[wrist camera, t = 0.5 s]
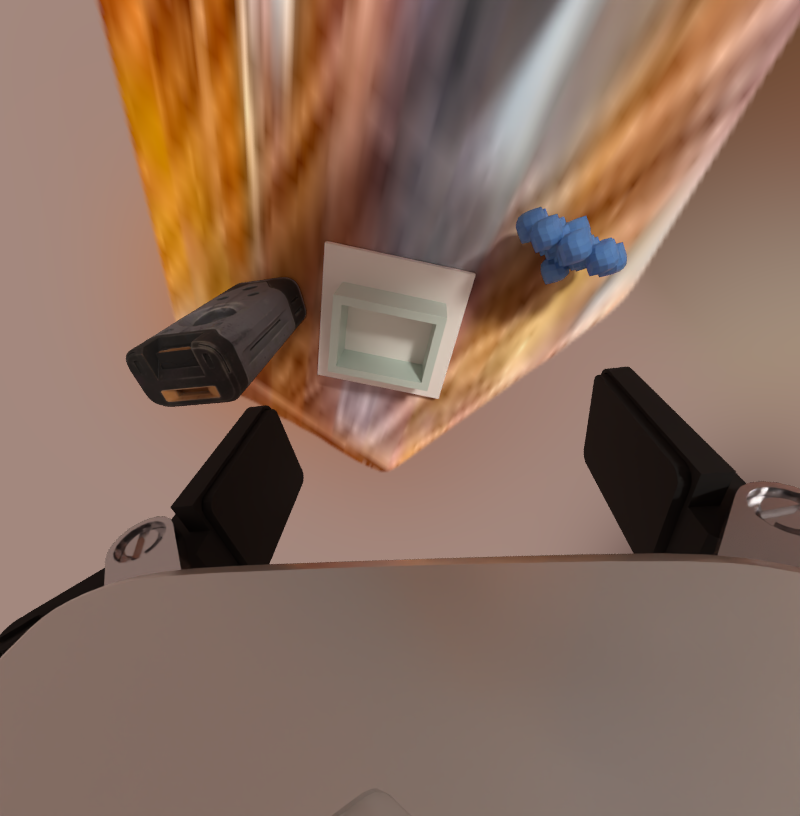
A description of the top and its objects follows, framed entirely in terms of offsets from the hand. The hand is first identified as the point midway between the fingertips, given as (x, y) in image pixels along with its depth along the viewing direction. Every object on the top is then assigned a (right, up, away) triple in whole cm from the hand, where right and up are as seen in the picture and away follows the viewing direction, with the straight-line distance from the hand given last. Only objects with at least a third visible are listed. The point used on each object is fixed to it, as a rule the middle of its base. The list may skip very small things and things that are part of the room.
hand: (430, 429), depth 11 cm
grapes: (+16, +20, +29) cm, 39 cm away
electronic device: (-18, +15, +36) cm, 43 cm away
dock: (-2, +11, +37) cm, 38 cm away
